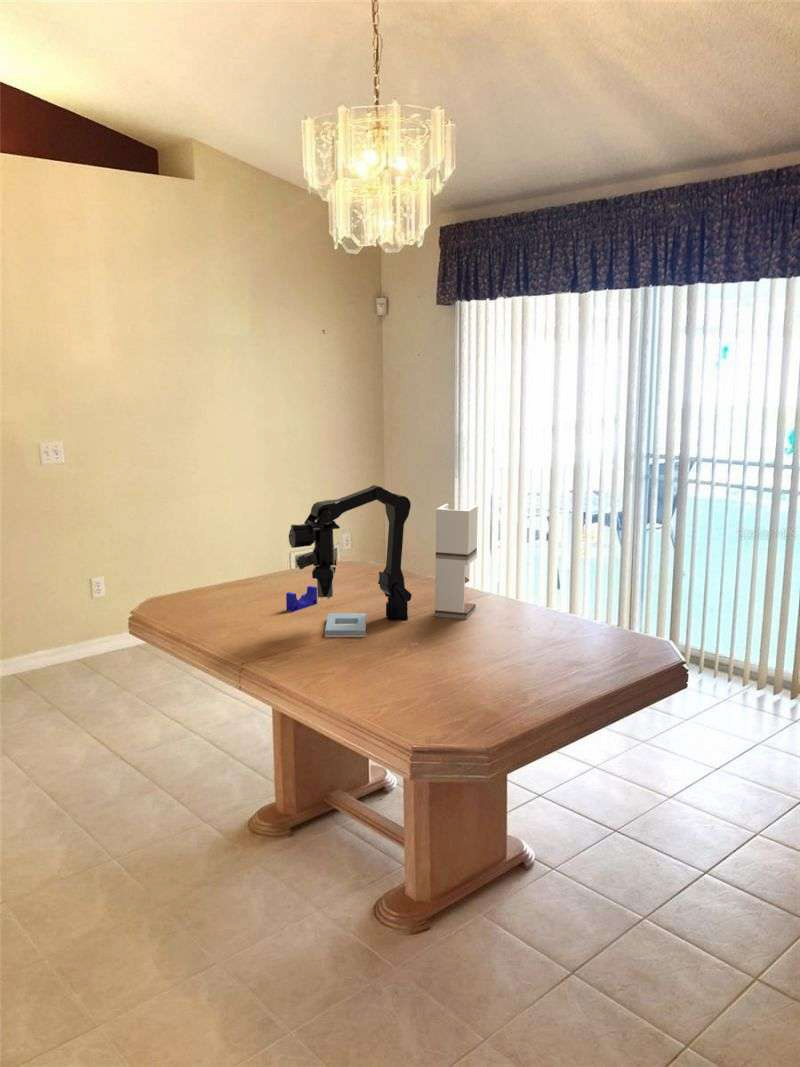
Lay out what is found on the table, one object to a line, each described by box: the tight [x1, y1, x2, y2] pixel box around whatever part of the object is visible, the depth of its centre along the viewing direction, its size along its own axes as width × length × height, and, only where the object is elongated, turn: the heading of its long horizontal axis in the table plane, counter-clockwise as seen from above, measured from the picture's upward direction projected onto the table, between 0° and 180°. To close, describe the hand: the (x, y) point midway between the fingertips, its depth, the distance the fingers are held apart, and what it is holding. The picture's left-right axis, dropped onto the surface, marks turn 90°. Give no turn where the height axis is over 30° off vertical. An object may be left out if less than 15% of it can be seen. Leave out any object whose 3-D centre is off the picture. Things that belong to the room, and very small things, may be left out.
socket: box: [324, 612, 367, 638], centre depth 268 cm, size 12×18×2 cm, turn 1°
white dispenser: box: [434, 503, 479, 620], centre depth 281 cm, size 11×11×35 cm
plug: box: [316, 579, 334, 600], centre depth 265 cm, size 4×4×7 cm
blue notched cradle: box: [285, 585, 318, 613], centre depth 291 cm, size 12×4×6 cm, turn 145°
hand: (325, 593), depth 266 cm, fingers closed on plug, 4 cm apart
